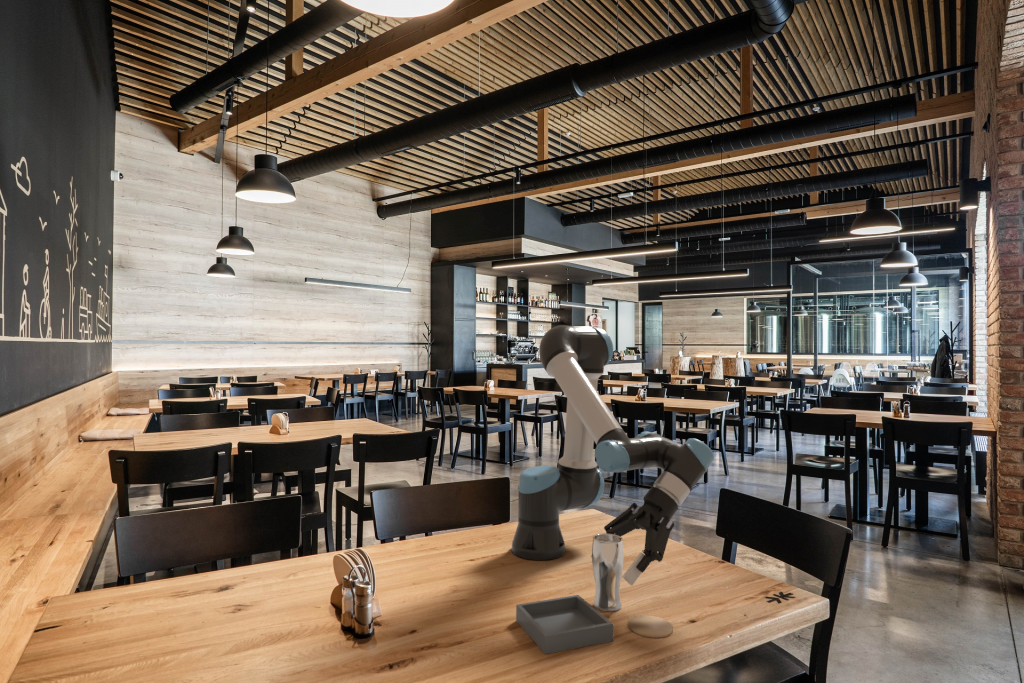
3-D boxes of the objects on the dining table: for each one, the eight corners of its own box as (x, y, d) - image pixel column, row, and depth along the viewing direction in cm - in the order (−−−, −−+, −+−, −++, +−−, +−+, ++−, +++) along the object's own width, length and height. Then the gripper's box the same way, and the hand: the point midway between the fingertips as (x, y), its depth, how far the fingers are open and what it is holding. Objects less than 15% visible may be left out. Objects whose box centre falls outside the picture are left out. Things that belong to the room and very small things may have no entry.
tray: (516, 620, 120) (516, 604, 120) (578, 609, 126) (578, 594, 126) (545, 654, 107) (545, 636, 107) (613, 640, 112) (613, 623, 112)
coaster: (619, 621, 120) (619, 619, 120) (655, 614, 124) (655, 612, 124) (644, 641, 112) (644, 639, 112) (682, 633, 115) (682, 631, 115)
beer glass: (623, 614, 124) (623, 544, 124) (590, 610, 125) (591, 541, 126) (623, 600, 131) (623, 534, 131) (592, 597, 132) (592, 532, 132)
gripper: (712, 520, 123) (653, 602, 117) (644, 494, 146) (592, 562, 140) (691, 498, 121) (631, 580, 115) (626, 475, 144) (573, 542, 138)
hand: (610, 570), depth 127 cm, fingers open, 13 cm apart
